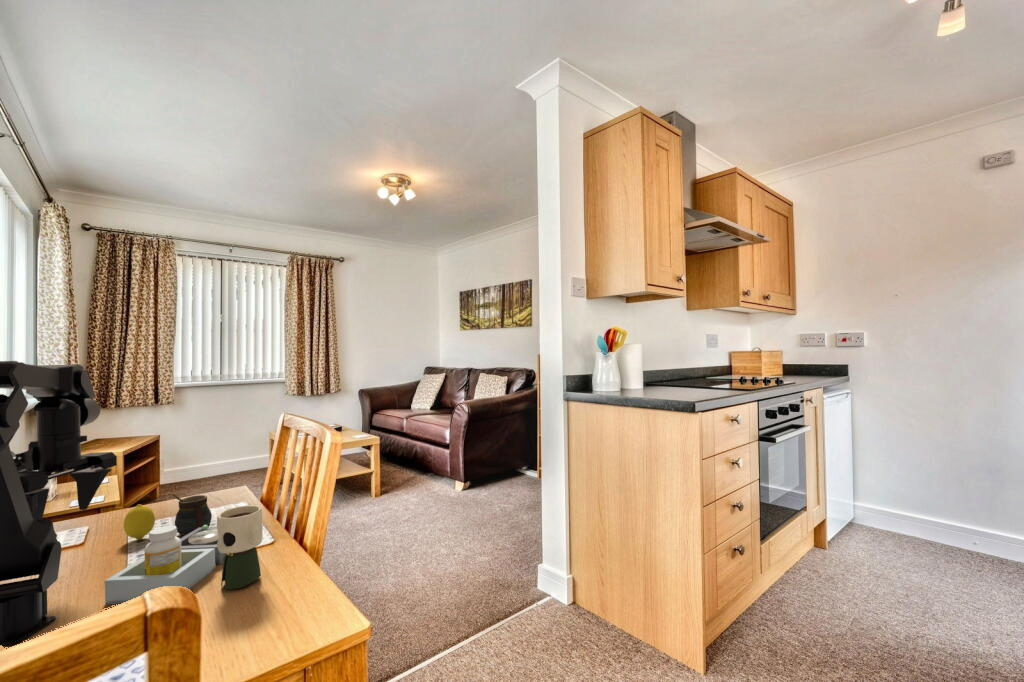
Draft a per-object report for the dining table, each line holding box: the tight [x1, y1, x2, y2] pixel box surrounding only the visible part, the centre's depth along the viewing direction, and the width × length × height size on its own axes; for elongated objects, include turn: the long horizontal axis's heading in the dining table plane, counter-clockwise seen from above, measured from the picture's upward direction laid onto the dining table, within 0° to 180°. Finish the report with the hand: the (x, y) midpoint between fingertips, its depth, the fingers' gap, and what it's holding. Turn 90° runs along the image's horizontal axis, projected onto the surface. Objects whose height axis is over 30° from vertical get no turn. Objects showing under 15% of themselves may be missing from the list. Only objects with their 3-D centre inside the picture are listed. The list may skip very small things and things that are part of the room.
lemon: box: [123, 503, 156, 541], centre depth 105 cm, size 6×6×8 cm
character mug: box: [216, 504, 264, 590], centre depth 84 cm, size 11×7×13 cm, turn 58°
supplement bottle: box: [144, 525, 182, 576], centre depth 84 cm, size 5×5×10 cm
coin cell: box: [188, 529, 219, 546], centre depth 97 cm, size 7×7×2 cm
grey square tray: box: [180, 525, 226, 566], centre depth 97 cm, size 11×11×4 cm
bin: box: [104, 548, 216, 605], centre depth 84 cm, size 11×11×4 cm
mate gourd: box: [172, 494, 213, 537], centre depth 108 cm, size 7×8×10 cm
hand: (60, 518), depth 84 cm, fingers open, 9 cm apart
